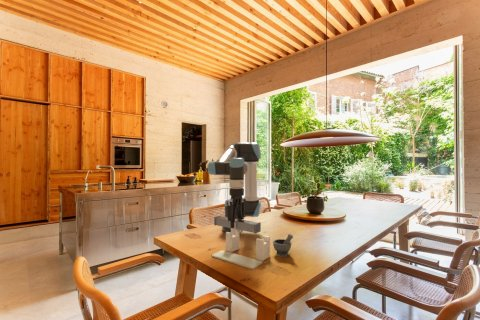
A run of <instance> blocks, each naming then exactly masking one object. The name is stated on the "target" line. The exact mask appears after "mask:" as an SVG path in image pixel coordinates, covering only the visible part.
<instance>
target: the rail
mask: <svg viewBox="0 0 480 320" xmlns="http://www.w3.org/2000/svg"><path fill="white" fill-rule="evenodd" d="M213 219H214V220H213V222H214V223H213V226H218V227H222V226H223V227H228V228H231V222H230V221H228V217H225V216H222V215H217V216H214V217H213ZM235 222H236V229H237V230H242V232H243V231H244V232H249V233H252V234H258V233H260V232H261V229H262V228H261V226H262V225H261V224H262V223H261V221H260V222H257V221H253V220H251V221H250V220H245V219H242V220H240V219H235Z"/></svg>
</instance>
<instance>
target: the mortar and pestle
mask: <svg viewBox="0 0 480 320" xmlns="http://www.w3.org/2000/svg"><path fill="white" fill-rule="evenodd" d="M293 238H294V235H292V234H290V233H289V234H287V238H285V239H281V238H278V239H274V240H273V242H272V245H273V249H274V250H275V251H276V255H277V256H278V257H283V258H285V257H288V255H289V252H290V250H291V248H292V242H291V241H292V239H293Z"/></svg>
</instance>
